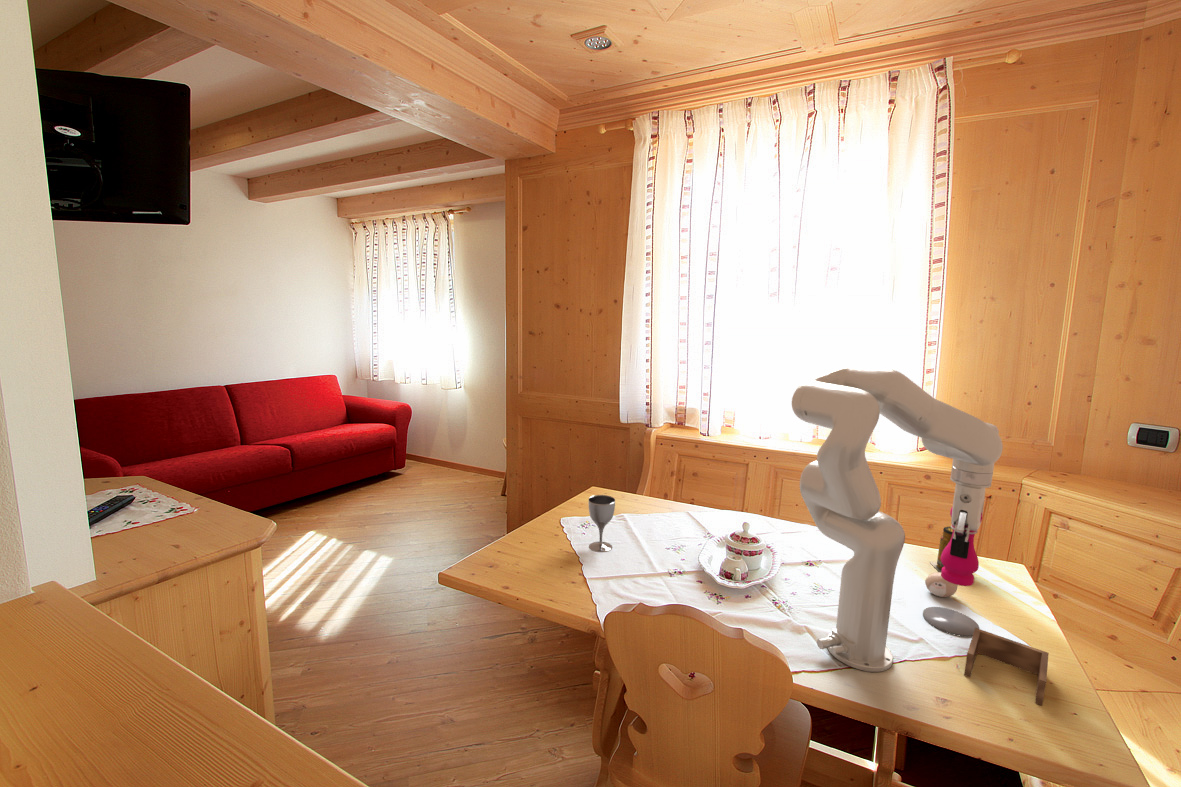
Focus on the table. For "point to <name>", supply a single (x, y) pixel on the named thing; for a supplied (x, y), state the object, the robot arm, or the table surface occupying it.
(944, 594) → the beige plush toy
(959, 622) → the coaster
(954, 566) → the pepper mill
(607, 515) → the wine glass
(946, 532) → the condiment
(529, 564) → the table surface
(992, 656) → the cradle
